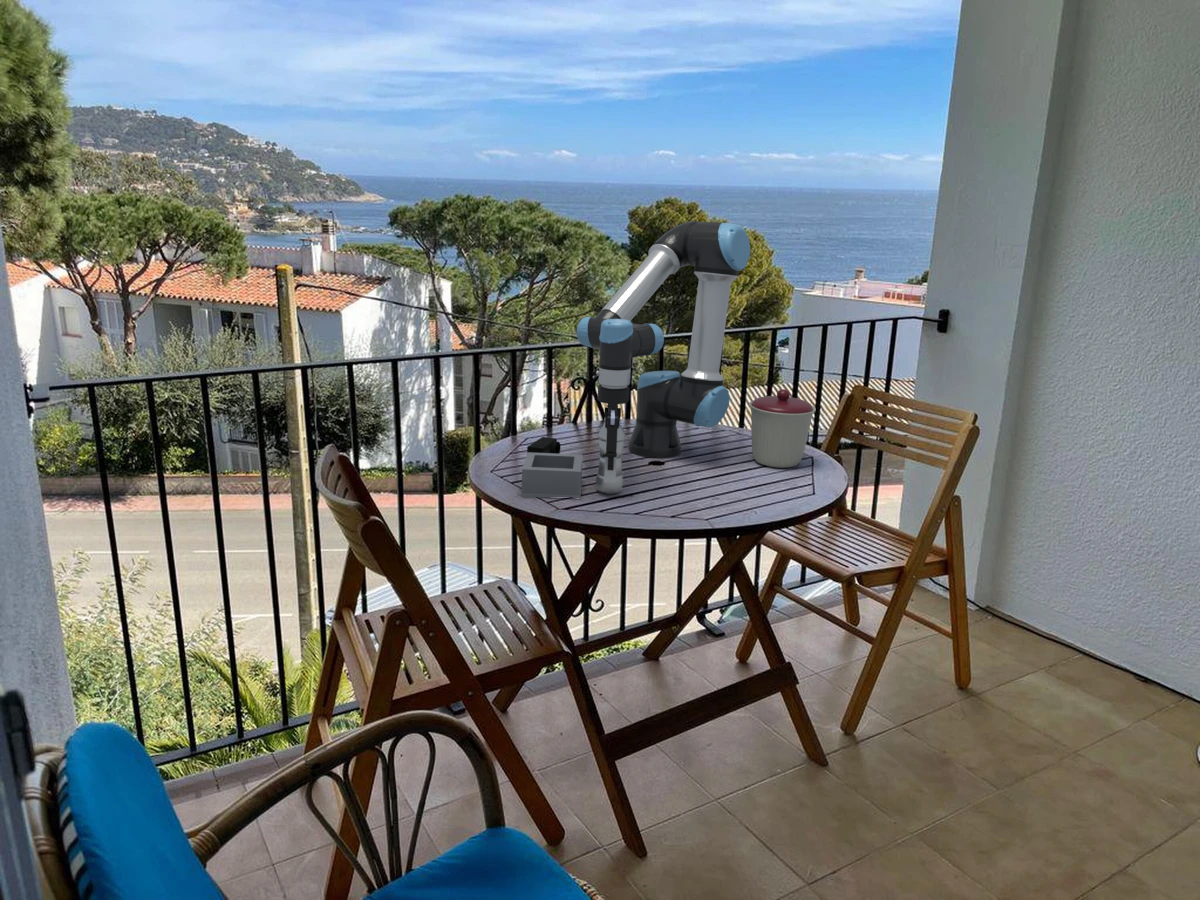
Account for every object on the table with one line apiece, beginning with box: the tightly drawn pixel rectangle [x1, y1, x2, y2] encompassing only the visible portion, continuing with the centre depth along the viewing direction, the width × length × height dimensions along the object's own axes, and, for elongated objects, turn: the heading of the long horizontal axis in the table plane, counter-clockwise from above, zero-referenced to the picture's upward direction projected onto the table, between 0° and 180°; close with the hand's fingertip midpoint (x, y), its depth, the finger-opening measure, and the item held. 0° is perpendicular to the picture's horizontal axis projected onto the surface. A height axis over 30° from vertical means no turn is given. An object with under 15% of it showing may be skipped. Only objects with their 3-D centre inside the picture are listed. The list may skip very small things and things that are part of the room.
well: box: [521, 452, 584, 499], centre depth 209 cm, size 14×14×7 cm
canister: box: [748, 388, 817, 469], centre depth 236 cm, size 18×18×21 cm
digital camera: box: [526, 436, 561, 454], centre depth 226 cm, size 10×5×7 cm, turn 161°
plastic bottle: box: [595, 418, 627, 495], centre depth 207 cm, size 6×7×20 cm
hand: (609, 477), depth 208 cm, fingers closed on plastic bottle, 6 cm apart
